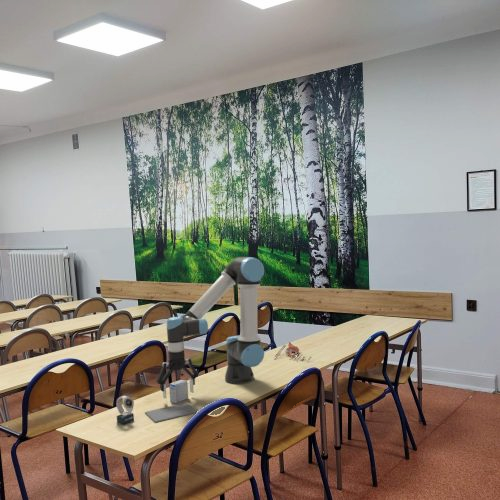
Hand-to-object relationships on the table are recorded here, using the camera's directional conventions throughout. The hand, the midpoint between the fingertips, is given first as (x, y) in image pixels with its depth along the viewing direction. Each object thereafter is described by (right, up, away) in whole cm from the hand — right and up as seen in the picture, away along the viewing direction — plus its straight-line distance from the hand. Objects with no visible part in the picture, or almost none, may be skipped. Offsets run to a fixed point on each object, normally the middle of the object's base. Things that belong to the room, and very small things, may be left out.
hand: (178, 394), depth 249 cm
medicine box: (0, -3, 0) cm, 3 cm away
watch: (-19, -5, -24) cm, 31 cm away
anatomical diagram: (+61, +3, +66) cm, 90 cm away
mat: (-1, -3, -16) cm, 17 cm away
